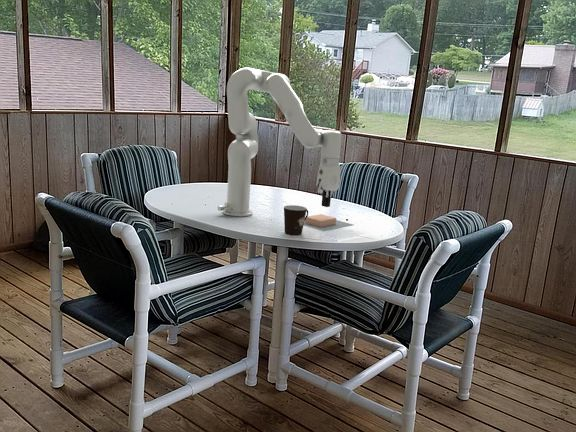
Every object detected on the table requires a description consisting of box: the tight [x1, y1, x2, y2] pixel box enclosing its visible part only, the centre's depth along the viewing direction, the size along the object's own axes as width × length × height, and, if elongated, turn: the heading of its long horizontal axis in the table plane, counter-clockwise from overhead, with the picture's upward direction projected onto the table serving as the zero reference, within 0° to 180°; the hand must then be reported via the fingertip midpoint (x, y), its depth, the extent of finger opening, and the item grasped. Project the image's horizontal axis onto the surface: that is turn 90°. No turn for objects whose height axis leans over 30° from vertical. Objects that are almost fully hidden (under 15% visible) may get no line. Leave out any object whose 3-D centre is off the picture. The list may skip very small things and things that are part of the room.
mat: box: [303, 219, 354, 232], centre depth 228 cm, size 20×18×1 cm
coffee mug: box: [283, 204, 309, 237], centre depth 210 cm, size 12×9×10 cm
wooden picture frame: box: [305, 213, 337, 227], centre depth 227 cm, size 3×8×10 cm
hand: (325, 206), depth 228 cm, fingers closed
